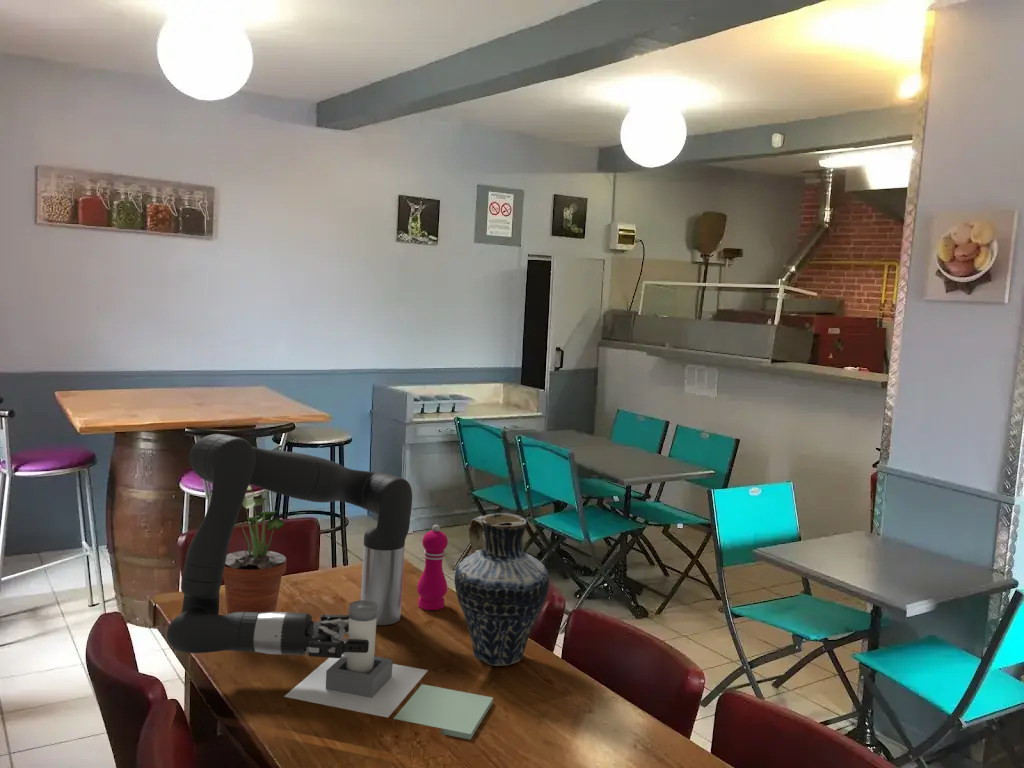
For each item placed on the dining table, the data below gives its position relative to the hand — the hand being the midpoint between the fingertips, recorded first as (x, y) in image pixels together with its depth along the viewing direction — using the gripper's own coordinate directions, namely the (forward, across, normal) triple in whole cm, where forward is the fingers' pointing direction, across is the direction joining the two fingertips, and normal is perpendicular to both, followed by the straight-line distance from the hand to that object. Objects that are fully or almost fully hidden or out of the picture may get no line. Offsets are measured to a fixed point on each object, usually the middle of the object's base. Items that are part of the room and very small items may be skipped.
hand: (371, 636), depth 156 cm
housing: (-2, 0, +10) cm, 10 cm away
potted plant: (-30, +32, +10) cm, 45 cm away
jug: (+24, +16, +10) cm, 31 cm away
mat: (+14, -8, +10) cm, 20 cm away
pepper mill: (+10, +43, +10) cm, 46 cm away
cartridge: (-2, 0, +9) cm, 9 cm away
